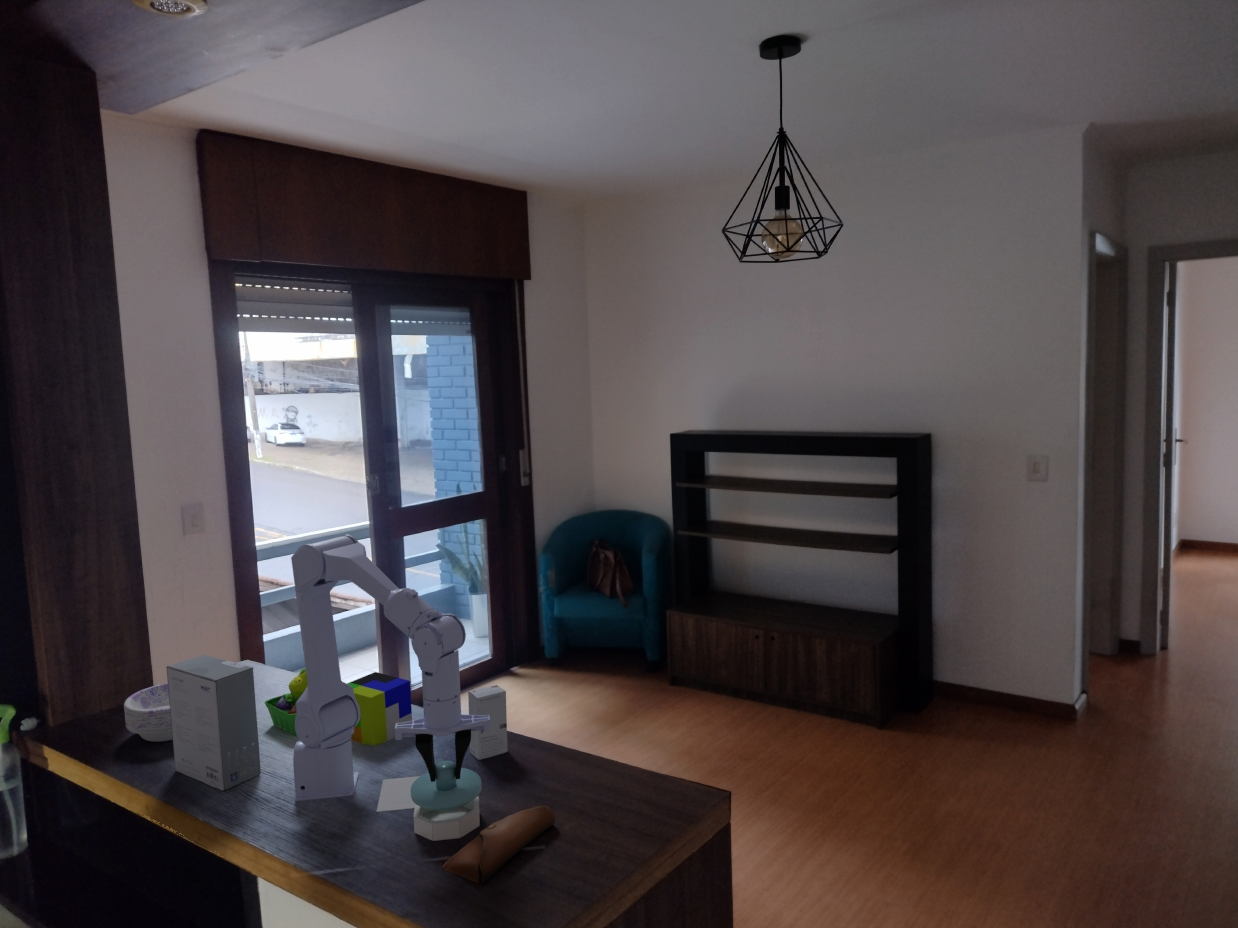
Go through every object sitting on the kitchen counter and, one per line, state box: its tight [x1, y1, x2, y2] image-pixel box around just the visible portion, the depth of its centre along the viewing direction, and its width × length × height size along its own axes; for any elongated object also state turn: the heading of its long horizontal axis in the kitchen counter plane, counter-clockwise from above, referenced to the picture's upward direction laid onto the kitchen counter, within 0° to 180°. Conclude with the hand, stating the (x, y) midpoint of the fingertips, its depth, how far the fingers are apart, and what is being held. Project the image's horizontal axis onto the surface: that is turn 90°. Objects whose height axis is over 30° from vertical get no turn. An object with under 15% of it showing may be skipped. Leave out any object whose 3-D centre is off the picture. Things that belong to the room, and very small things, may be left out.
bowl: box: [413, 795, 481, 842], centre depth 136 cm, size 10×10×3 cm
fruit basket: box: [264, 667, 308, 736], centre depth 175 cm, size 11×9×11 cm
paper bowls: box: [123, 682, 173, 743], centre depth 173 cm, size 15×15×8 cm
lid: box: [411, 759, 483, 810], centre depth 136 cm, size 11×11×4 cm
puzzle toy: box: [346, 671, 413, 747], centre depth 171 cm, size 10×10×10 cm
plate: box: [376, 775, 421, 813], centre depth 146 cm, size 11×11×1 cm
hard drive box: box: [165, 654, 262, 792], centre depth 154 cm, size 16×8×20 cm, turn 57°
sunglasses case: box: [441, 805, 556, 886], centre depth 130 cm, size 18×7×7 cm
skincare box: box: [467, 684, 508, 760], centre depth 160 cm, size 6×4×12 cm
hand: (445, 777), depth 136 cm, fingers closed on lid, 3 cm apart
